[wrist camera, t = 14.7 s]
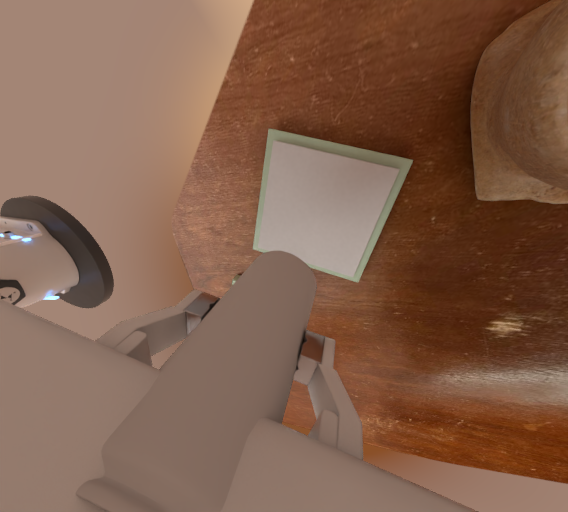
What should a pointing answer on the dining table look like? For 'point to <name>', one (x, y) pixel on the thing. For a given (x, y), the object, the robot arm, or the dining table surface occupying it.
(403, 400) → the dining table surface
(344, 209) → the scale
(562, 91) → the tan stone pipe
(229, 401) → the beverage can
